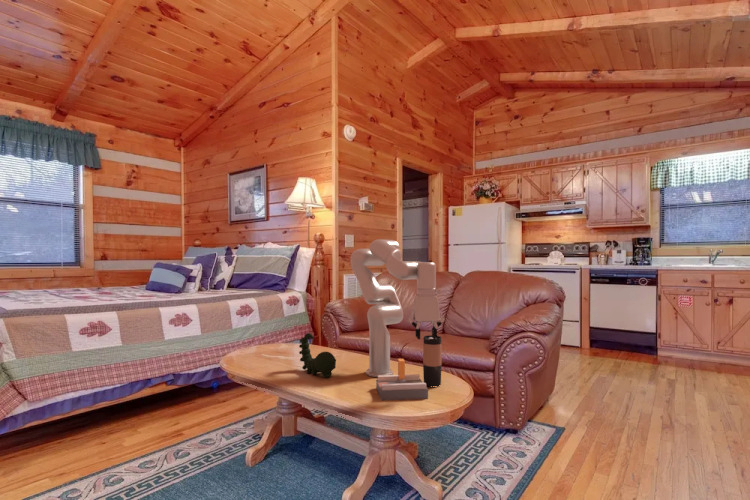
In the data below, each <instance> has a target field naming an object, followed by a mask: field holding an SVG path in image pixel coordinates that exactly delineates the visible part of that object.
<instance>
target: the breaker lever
mask: <svg viewBox="0 0 750 500" xmlns="http://www.w3.org/2000/svg"><path fill="white" fill-rule="evenodd" d="M405 369H406V361H405V359H404V358H398V359H397V375H398V378H397V380H398V382H399V383H405V375H406V372H405V371H406V370H405Z"/></svg>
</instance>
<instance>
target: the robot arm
mask: <svg viewBox="0 0 750 500" xmlns="http://www.w3.org/2000/svg"><path fill="white" fill-rule="evenodd" d="M402 257H403V254H402V252H401V248H400V244H399V243H398V241H396V240H394V239H384V238H383V239H382V238H381V239H380V238H379V239H375V240H373V241H372V242H371V243H370V244H369V248H358V249H355V250H354V251H352V253H351V255H350V266H351V270H352V273H353V275H355V278H356V280H357V281H358V285H359V287H360V290H361V293H362V296H363V299H364V301H365V303H366V304H368V305H372V306H371V307H369V308H368V310H367V322H368V329H369V331H368V332H369V333H368V335H369V337H368V338H369V339H368V341H369V345H368V346H369V350H368V352H369V354H368V356H369V358H368V360H369V361H368V362H369V365H368V367H369V368H368V369H366V370H365V375H367V376H369V377H372V378H373V377H374V378H378V376H379V375H394V370H393V369H392V368H391V334H390V331H389V329H388V327H387V326H389V325H396V324H399V323H401V322H402V321H403V319H404V310H403V307H402V303H401V302H400V299H399V297H398V294H397V292H396V290H395V287H393V286H392V285H391V284H389V283H379V282H378V280H377V277H376V275H375V274H374V273H373V271H372V270H371V269H369V267H376V266H377V267H379V266H381V267H382V266H384V265H385V268H386V270H387V272H388V273H389V274H390V275H391V276H393V277H395V278H396V279H398V280H401V281H407V280H416V295H415V296H414V299H413V307H412V313H411V314H410V316H408V318H407V322H409V323H410V324H411V326H413V328H415V338H417V340H421V329H420V327H421V324H422V323H430V322H431V323H432V324H431V325H432V327H431V335H432V338H434V339H436V336H438V328H439V327H440V326H441V325H442V324H443V323H444V322H445V321H446V319H445V317H444V316H443V315H442V314H441V313H440V304H439V303H440V302H439V298H438V296H437V294H440V290H439V289H437V265H436V263H435V262H433V261H432V262H431V261H428V262H427V261H419V260H418V261H416V260H414V261H411V260H409V261H408V260H407V261H406V260H405V261H404V260H401V259H402ZM413 320H414V321H416V322H414V321H413Z"/></svg>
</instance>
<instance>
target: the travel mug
mask: <svg viewBox="0 0 750 500" xmlns="http://www.w3.org/2000/svg"><path fill="white" fill-rule="evenodd" d="M422 347H423V349H422V350H423V353H422V355H423V357H422V359H423V361H422V362H423V363H422V367H423V368H422V370H423V373H422V374H423V383H426V387H427V386H432V387H431V388H434V387H433V386H439V385H442V363H443V362H442V336H439V335H437V336H436V339H434V338H432V334H431V335H425V336H423V346H422ZM439 387H440V386H439Z"/></svg>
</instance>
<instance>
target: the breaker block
mask: <svg viewBox="0 0 750 500" xmlns="http://www.w3.org/2000/svg"><path fill="white" fill-rule="evenodd" d="M397 378H398V374H393V375H379V376H378V377H377V379H376V380H375V381H376V390H377V393H378V395H379V398H380V401H401V400H403V401H404V400H423V399H424V400H425V399H429V388H428V387H427V386H426V383H424V381H423V380H422V379H421V377H420V374H419V373H417V374H416V373H415V374H405V383H399V382H398V380H397Z"/></svg>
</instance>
